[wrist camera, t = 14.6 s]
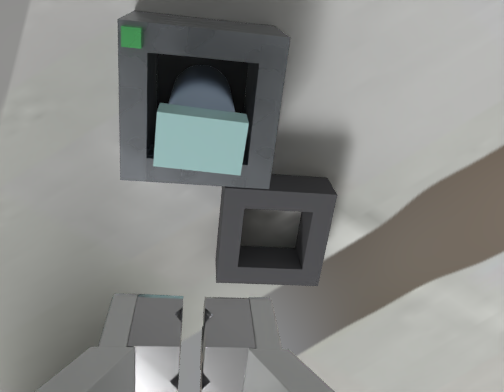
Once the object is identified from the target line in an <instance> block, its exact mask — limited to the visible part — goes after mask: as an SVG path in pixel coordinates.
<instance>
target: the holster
mask: <svg viewBox="0 0 504 392" xmlns="http://www.w3.org/2000/svg"><path fill="white" fill-rule="evenodd" d="M336 198H337V194H336V192H335V190H334V189H333V187H332V185H331V184H330V182H329V180H328V179H327V178H322V177H307V176H292V175H276V174H271V179H270V186H269V189H259V188H243V187H227V186H222V194H221V205H220V217H219V228H218V239H217V250H216V283H245V284H274V285H305V286H306V285H307V286H318V282H319V278H320V273H321V269H322V264H323V259H324V255H325V250H326V245H327V241H328V236H329V231H330V227H331V222H332V217H333V212H334V208H335V203H336ZM244 209H263V210H281V211H299V212H302V214H301V220H300V225H299V231H298V236H297V242H296V248H277V247H254V246H240V243H241V234H242V226H243V217H244Z"/></svg>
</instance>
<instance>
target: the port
mask: <svg viewBox="0 0 504 392" xmlns="http://www.w3.org/2000/svg"><path fill="white" fill-rule="evenodd" d="M289 43H290V37H289V36H287V35H286V34H285V33H283V32H282V31H281V30H279V29H278V28H277V27H275V26H270V25H260V24H251V23H242V22H233V21H224V20H215V19H206V18H197V17H187V16H178V15H169V14H160V13H151V12H142V11H133V12H131V13H129V14H127V15H125V16H123V17H121V18H119V19H118V68H119V126H120V180H130V181H146V182H162V183H178V184H194V185H211V186H227V187H243V188H259V189H269V186H270V179H271V172H272V165H273V158H274V150H275V143H276V136H277V129H278V122H279V115H280V107H281V100H282V93H283V86H284V79H285V72H286V65H287V57H288V50H289ZM158 54H168V55H178V56H188V57H198V58H209V59H219V60H229V61H239V62H248V70H247V79H246V89H245V98H244V108H243V114H246V115H247V118H248V122H249V126H248V132H247V138H246V144H245V151H244V157H243V163H242V169H241V175H240V176H239V175H230V174H221V173H211V172H202V171H193V170H184V169H174V168H165V167H156V166H153V162H154V148H155V133H156V118H157V67H158Z"/></svg>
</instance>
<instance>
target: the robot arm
mask: <svg viewBox="0 0 504 392" xmlns="http://www.w3.org/2000/svg"><path fill="white" fill-rule="evenodd" d="M182 314H183V296H168V295H148V294H139V295H137V294H121V293H115V294H114V296H113V297H112V300H111V304H110V307H109V310H108V314H107V317H106V321H105V324H104V328H103V331H102V335H101V338H100V341H99V345H98V347H90V348H89V349H87V350H86V351H85V352H84V353H82V354H81V355H80V356H79V357H77V358H76V359H75V360H74V361H72V362H71V363H70V364H69V365H67V366H66V367H65V368H64V369H62V370H61V371H60V372H59V373H57V374H56V375H55V376H54V377H52V378H51V379H50V380H49V381H47V382H46V383H45V384H44V385H42V386H41V387H40V388H39V389H37V390H36V391H35V392H178V380H179V365H180V349H181V332H182ZM200 370H201V379H200V392H334V391H333V390H332V389H331V388H330V387H329V386H328V385H327V384H326V383H325V382H324V381H323V380H321V379H320V378H319V377H318V376H317V375H316V374H315V373H314V372H313V371H312V370H311V369H310V368H309V367H307V366H306V365H305V364H304V363H303V362H302V361H301V360H300V359H299V358H298V357H297V356H296V355H294V354H293V353H292V352H291V351H290V350H289V349H282V345H281V341H280V336H279V331H278V326H277V321H276V317H275V312H274V307H273V303H272V300H271V298H267V297H249V298H222V297H205V300H204V310H203V327H202V339H201V356H200Z"/></svg>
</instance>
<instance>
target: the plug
mask: <svg viewBox="0 0 504 392" xmlns="http://www.w3.org/2000/svg"><path fill="white" fill-rule="evenodd" d="M248 126H249V122H248V118H247V115H246V114H243V113H236V112H235V109H234V104H233V99H232V94H231V89H230V85H229V83H228V81H227V79H226V77H225V76H224V75H223V74H222V73H221V72H220V71H219V70H217V69H216V68H214V67H211V66H208V65H194V66H191V67H188V68H186V69H185V70H183V71H182V72H181V73H180V74H179V75H178V77H177V78H176V80H175V82H174V85H173V89H172V93H171V96H170V100H169V104H166V103H160V104H159V107H158V110H157V118H156V133H155V148H154V162H153V166H156V167H165V168H174V169H184V170H193V171H202V172H211V173H221V174H230V175H239V176H240V175H241V169H242V163H243V157H244V151H245V144H246V138H247V132H248Z"/></svg>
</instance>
